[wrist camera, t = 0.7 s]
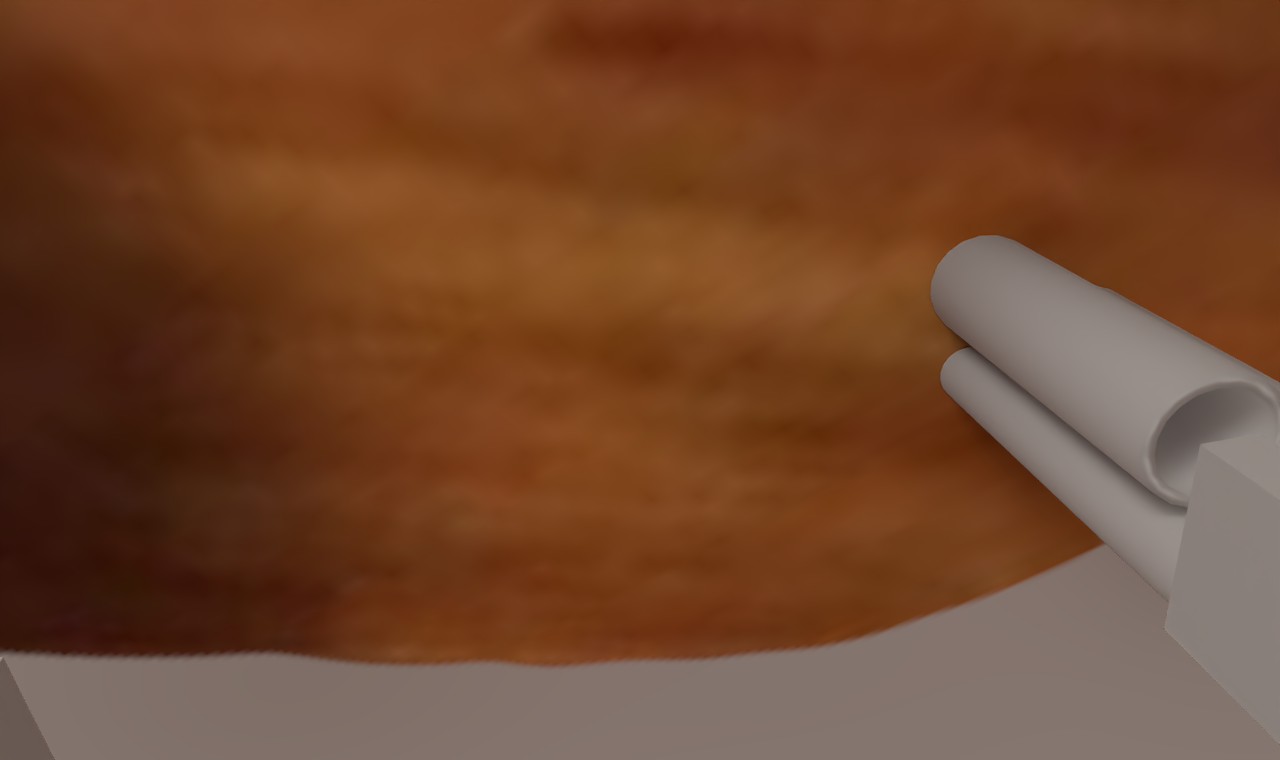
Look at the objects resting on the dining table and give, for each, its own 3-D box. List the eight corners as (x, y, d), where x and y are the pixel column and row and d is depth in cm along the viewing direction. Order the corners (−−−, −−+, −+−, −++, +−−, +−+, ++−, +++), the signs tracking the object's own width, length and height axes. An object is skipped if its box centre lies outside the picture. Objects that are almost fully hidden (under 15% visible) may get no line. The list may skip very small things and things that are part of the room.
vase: (1162, 312, 43) (1667, 586, 25) (1071, 445, 45) (1473, 783, 27) (965, 216, 39) (1392, 457, 21) (877, 366, 41) (1195, 696, 24)
